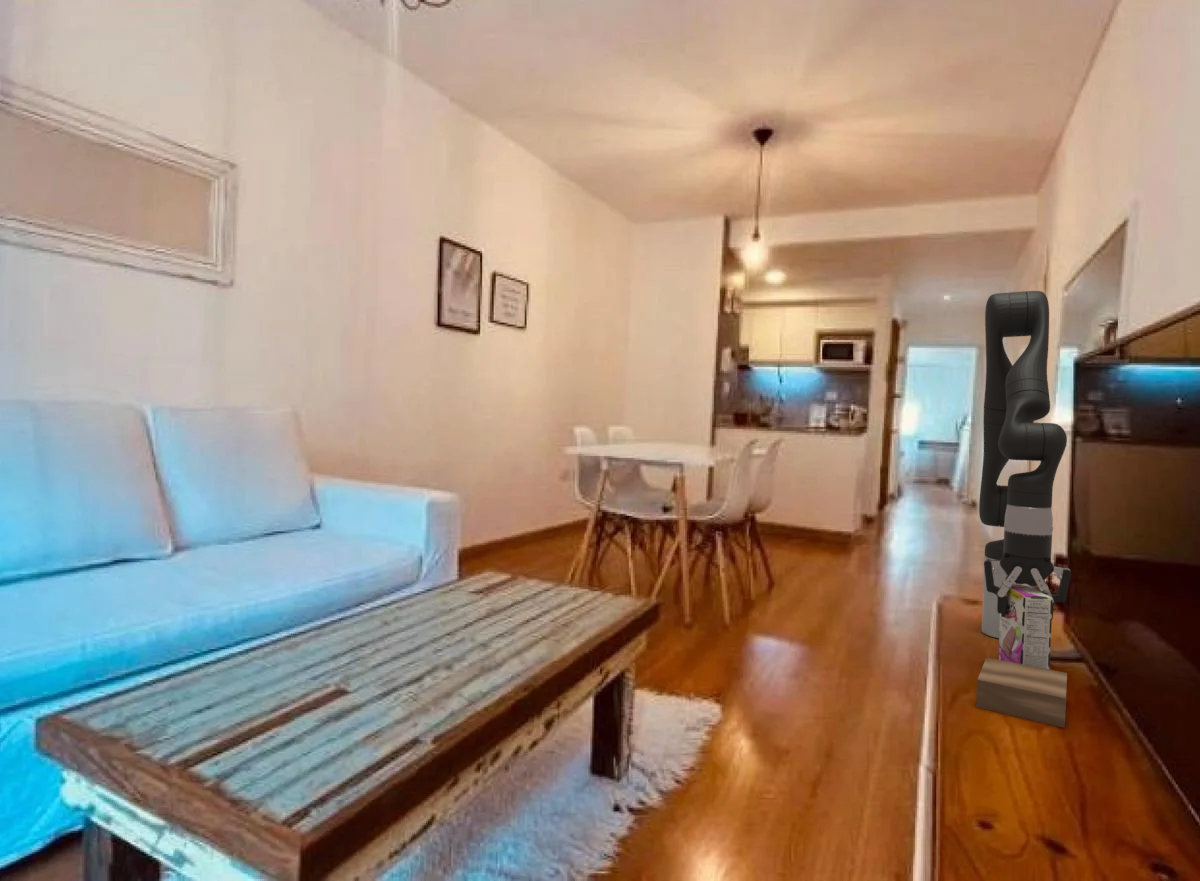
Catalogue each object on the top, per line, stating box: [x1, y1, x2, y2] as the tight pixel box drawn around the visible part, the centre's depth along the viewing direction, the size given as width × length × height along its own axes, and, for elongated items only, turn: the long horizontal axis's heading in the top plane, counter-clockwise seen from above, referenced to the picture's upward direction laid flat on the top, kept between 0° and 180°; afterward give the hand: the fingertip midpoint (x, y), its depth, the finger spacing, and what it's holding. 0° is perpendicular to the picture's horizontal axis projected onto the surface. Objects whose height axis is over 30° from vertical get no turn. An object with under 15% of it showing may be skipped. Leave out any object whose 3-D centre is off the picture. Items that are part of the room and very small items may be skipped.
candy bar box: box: [997, 581, 1053, 670], centre depth 125 cm, size 11×5×16 cm, turn 168°
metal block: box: [976, 657, 1068, 729], centre depth 112 cm, size 13×12×5 cm
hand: (1024, 618), depth 125 cm, fingers closed on candy bar box, 6 cm apart
